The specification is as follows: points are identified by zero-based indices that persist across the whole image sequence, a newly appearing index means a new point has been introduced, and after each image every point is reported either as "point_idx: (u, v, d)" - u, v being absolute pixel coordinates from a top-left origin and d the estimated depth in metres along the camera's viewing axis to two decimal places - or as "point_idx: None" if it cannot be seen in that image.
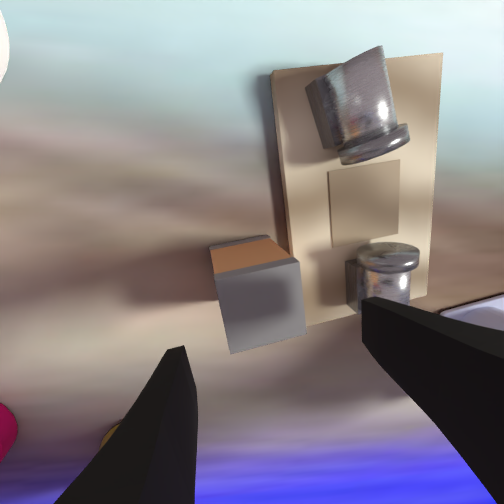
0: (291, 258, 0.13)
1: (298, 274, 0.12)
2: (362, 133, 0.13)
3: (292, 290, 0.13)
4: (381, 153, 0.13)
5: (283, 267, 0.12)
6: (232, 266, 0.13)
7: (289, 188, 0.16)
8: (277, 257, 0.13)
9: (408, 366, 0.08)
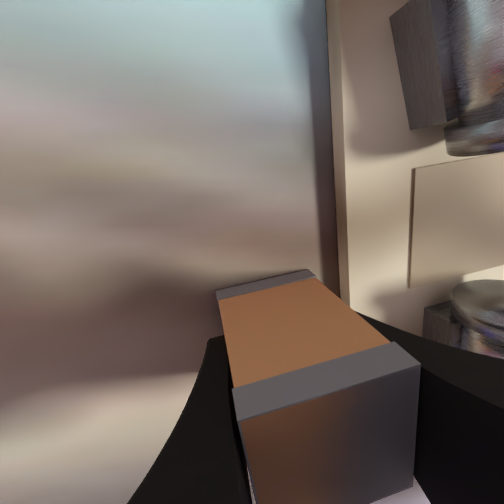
0: (392, 347, 0.06)
1: (415, 388, 0.06)
2: None
3: (398, 418, 0.06)
4: None
5: (387, 377, 0.06)
6: (267, 357, 0.07)
7: (350, 197, 0.10)
8: (356, 337, 0.07)
9: None
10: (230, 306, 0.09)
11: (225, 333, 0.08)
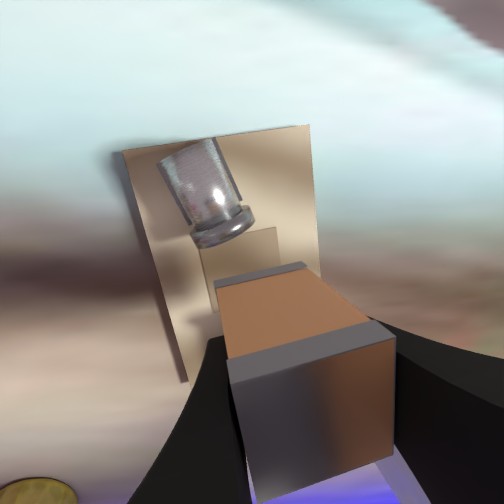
0: (372, 324, 0.07)
1: (392, 359, 0.06)
2: (198, 222, 0.13)
3: (377, 387, 0.07)
4: (215, 244, 0.13)
5: (365, 348, 0.06)
6: (259, 335, 0.07)
7: (156, 260, 0.16)
8: (341, 317, 0.07)
9: None
10: (227, 293, 0.10)
11: (221, 316, 0.08)
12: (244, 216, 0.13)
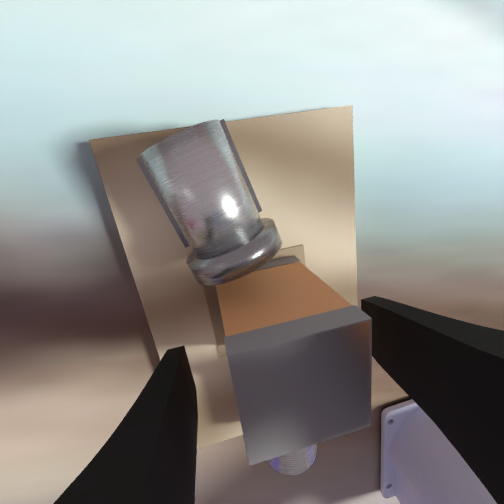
0: (353, 308, 0.08)
1: (368, 339, 0.07)
2: (199, 246, 0.09)
3: (355, 363, 0.08)
4: (225, 280, 0.08)
5: (344, 328, 0.07)
6: (253, 317, 0.08)
7: (142, 292, 0.12)
8: (326, 303, 0.08)
9: (408, 366, 0.08)
10: (225, 283, 0.11)
11: (220, 302, 0.09)
12: (268, 237, 0.09)
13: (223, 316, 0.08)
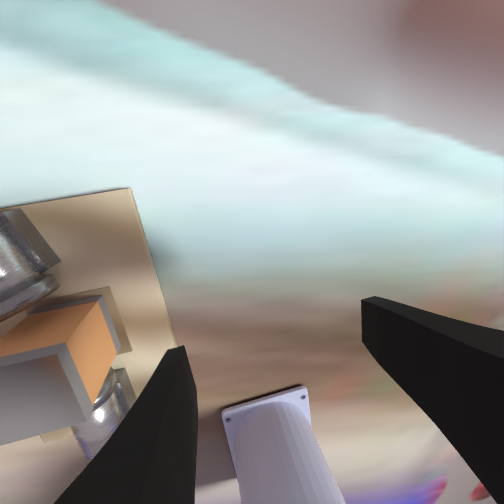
0: (59, 345, 0.12)
1: (60, 366, 0.12)
2: None
3: (56, 381, 0.12)
4: None
5: (37, 359, 0.11)
6: (3, 350, 0.12)
7: None
8: (55, 339, 0.13)
9: (408, 366, 0.08)
10: (28, 319, 0.15)
11: (3, 336, 0.14)
12: (22, 295, 0.13)
13: None
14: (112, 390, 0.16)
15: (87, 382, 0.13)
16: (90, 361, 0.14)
